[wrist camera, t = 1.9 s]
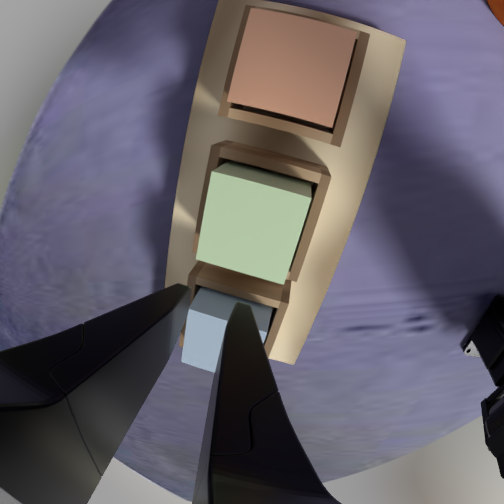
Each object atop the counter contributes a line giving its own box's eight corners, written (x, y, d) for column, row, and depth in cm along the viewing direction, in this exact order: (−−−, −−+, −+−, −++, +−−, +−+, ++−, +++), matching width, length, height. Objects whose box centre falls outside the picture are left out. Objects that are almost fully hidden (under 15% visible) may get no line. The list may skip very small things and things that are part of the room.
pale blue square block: (273, 301, 19) (267, 332, 16) (256, 351, 21) (249, 382, 18) (204, 281, 19) (188, 308, 16) (195, 332, 21) (181, 361, 18)
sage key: (310, 183, 16) (311, 198, 13) (287, 257, 18) (283, 284, 15) (228, 161, 16) (211, 171, 13) (212, 236, 18) (195, 259, 15)
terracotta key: (347, 47, 12) (357, 32, 10) (327, 125, 14) (332, 128, 12) (261, 25, 12) (251, 7, 10) (241, 103, 14) (226, 101, 12)
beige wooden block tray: (397, 47, 15) (423, 28, 10) (295, 348, 25) (291, 392, 21) (228, 5, 15) (204, -23, 11) (170, 311, 26) (146, 348, 21)
